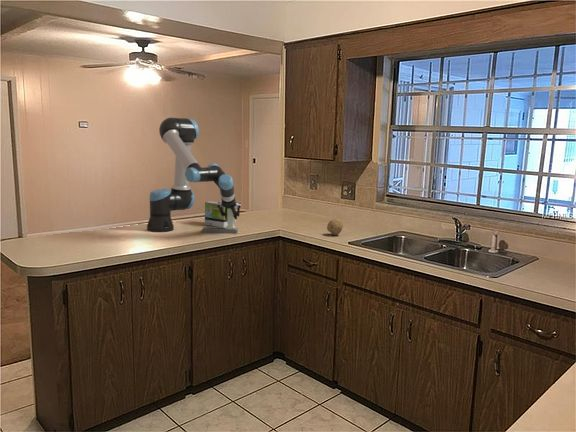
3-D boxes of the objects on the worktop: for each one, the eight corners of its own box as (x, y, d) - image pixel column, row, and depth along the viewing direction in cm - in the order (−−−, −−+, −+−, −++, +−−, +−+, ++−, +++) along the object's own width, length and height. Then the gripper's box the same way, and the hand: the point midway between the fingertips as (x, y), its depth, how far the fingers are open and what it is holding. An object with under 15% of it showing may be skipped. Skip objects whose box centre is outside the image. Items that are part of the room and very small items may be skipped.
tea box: (204, 225, 293) (204, 201, 290) (213, 223, 302) (214, 200, 299) (223, 228, 286) (224, 204, 283) (233, 225, 295) (233, 202, 292)
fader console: (202, 232, 271) (202, 228, 271) (204, 230, 277) (204, 226, 277) (236, 233, 271) (236, 230, 271) (237, 231, 277) (237, 228, 276)
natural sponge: (329, 237, 271) (330, 220, 269) (324, 234, 279) (325, 217, 278) (344, 236, 273) (345, 220, 272) (338, 233, 282) (339, 217, 280)
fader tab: (225, 228, 272) (226, 206, 269) (226, 227, 276) (227, 205, 273) (234, 229, 272) (234, 207, 269) (235, 228, 275) (235, 206, 273)
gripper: (212, 201, 255) (217, 226, 274) (242, 202, 255) (244, 227, 274) (214, 191, 260) (218, 216, 279) (243, 192, 260) (245, 217, 279)
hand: (231, 221), depth 276 cm, fingers closed on fader tab, 3 cm apart
